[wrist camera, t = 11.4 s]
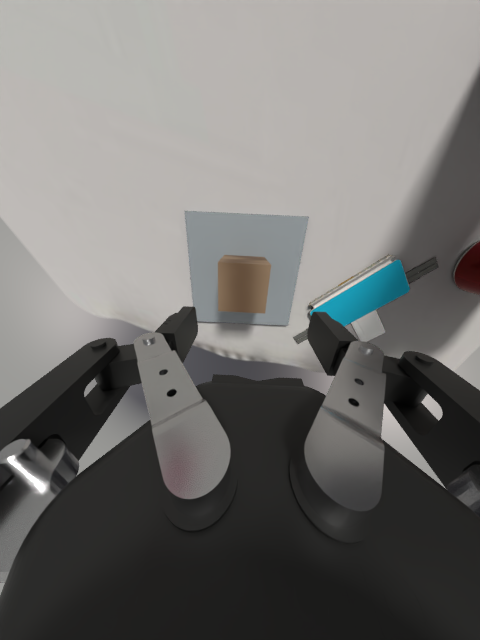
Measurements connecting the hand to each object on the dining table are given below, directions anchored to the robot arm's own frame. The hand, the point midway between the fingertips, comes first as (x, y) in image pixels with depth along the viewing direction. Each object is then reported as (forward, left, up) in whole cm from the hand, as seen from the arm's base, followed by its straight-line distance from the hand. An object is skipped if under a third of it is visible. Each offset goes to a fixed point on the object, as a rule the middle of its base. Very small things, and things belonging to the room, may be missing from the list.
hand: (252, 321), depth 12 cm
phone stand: (-16, +4, -13) cm, 21 cm away
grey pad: (+1, 0, -13) cm, 13 cm away
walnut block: (+1, 0, -12) cm, 12 cm away
